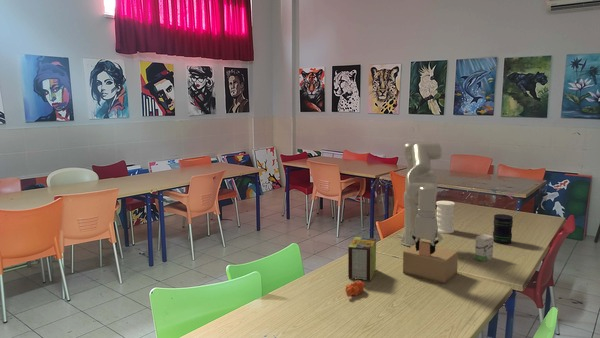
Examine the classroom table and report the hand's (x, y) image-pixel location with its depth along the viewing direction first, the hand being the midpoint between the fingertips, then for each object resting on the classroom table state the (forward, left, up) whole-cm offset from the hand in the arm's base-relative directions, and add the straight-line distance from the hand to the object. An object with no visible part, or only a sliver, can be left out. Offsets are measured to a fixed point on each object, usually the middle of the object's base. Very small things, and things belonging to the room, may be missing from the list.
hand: (425, 251), depth 202 cm
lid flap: (0, +6, -3) cm, 7 cm away
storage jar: (+14, +76, -13) cm, 78 cm away
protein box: (-25, -13, -13) cm, 31 cm away
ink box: (+14, +42, -13) cm, 46 cm away
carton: (0, +7, -13) cm, 14 cm away
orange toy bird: (-17, -34, -13) cm, 40 cm away
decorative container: (-20, +77, -13) cm, 80 cm away
